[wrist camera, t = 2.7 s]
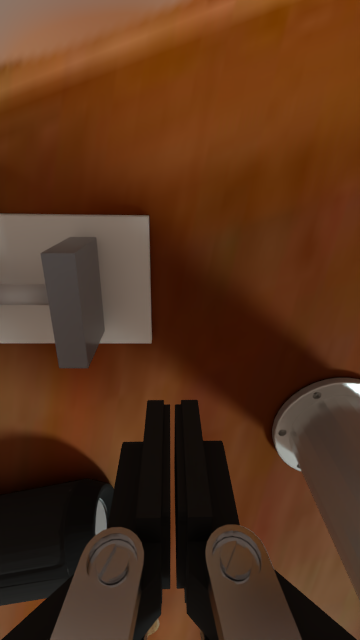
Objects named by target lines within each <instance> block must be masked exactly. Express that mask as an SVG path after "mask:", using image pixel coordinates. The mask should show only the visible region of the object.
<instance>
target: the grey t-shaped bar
mask: <svg viewBox="0 0 360 640" xmlns="http://www.w3.org/2000/svg"><path fill="white" fill-rule="evenodd" d="M40 254H41V260H42V266H43V272H44V278H45V284H0V305H49V309H50V315H51V321H52V327H53V333H54V339H55V345H56V351H57V357H58V364H59V368H89V365H90V363H91V361H92V359H93V356H94V354H95V352H96V350H97V347H98V345H99V343H100V341H101V338H102V336H103V334H104V332H105V327H104V316H103V305H102V294H101V283H100V272H99V261H98V250H97V239H96V237H69V238H67V239H65V240H63V241H62V242H60V243H58V244H56V245H54V246H53V247H51V248H49V249H47V250H45V251H43V252H42V253H40Z"/></svg>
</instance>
